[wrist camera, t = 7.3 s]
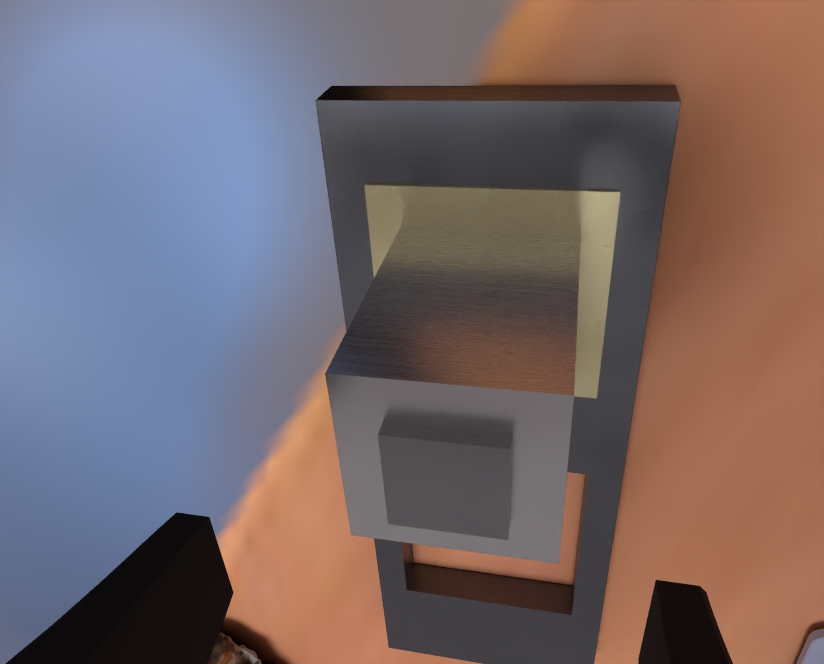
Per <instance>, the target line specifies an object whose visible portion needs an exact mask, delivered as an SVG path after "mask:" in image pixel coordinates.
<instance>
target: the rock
mask: <svg viewBox="0 0 824 664" xmlns="http://www.w3.org/2000/svg"><path fill="white" fill-rule="evenodd" d="M207 664H261V660H259V659H258V658H257V654H256V653H255V652H254V651H253V650H250V649H248V648H246V647H245V645H243V646H238V645H237V644H235V643H234V642H232V640H231V637H229V636H227V635H224V634H223V633H222V632H221V631H220V633H219V635H218V638H217V641H216V643H215V646H214V649H213V651H212V654H211V656H210V658H209V660H208V662H207Z"/></svg>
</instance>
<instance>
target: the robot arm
mask: <svg viewBox="0 0 824 664" xmlns="http://www.w3.org/2000/svg"><path fill="white" fill-rule="evenodd" d="M232 595H233V590H232V587H231V584H230V580H229V577H228V574H227V571H226V568H225V565H224V562H223V559H222V555H221V552H220V549H219V546H218V543H217V540H216V537H215V534H214V530H213V527H212V524H211V521H210V518H209V517H205V516H198V515H190V514H183V513H176V514H174V516H172V517H171V518H170V519H169V520H168V521H167V522H165V523H164V524H163V525H162V526H161V527H160V528H159V529H158V530H157V531H156V532H154V533H153V534H152V535H151V536H150V537H149V538H148V539H147V540H146V541H145V542H144V543H142V544H141V545H140V546H139V547H138V548H137V549H136V550H135V551H134V552H133V553H132V554H131V555H130V556H128V557H127V558H126V559H125V560H124V561H123V562H122V563H121V564H120V565H119V566H118V567H117V568H115V569H114V570H113V571H112V572H111V573H110V574H109V575H108V576H107V577H106V578H105V579H103V580H102V581H101V582H100V583H99V584H98V585H97V586H96V587H95V588H93V589H92V590H91V591H90V592H89V593H88V594H87V595H86V596H84V597H83V598H82V599H81V600H80V601H79V602H78V603H77V604H75V605H74V606H73V607H72V608H71V609H70V610H69V611H68V612H66V613H65V614H64V615H63V616H62V617H61V618H60V619H58V620H57V621H56V622H55V623H54V624H53V625H52V626H50V627H49V628H48V629H47V630H46V631H44V632H43V633H42V634H41V635H40V636H38V637H37V638H36V639H35V640H34V641H32V642H31V643H30V644H29V645H27V646H26V647H25V648H24V649H23V650H22V651H20V652H19V653H18V654H17V655H15V656H14V657H13V658H12V659H11V660H10V661H8V662H7V663H6V664H207V662H208V660H209V658H210V656H211V654H212V651H213V649H214V646H215V643H216V641H217V638H218V635H219V633H220V630H221V627H222V625H223V622H224V619H225V616H226V613H227V610H228V607H229V604H230V601H231V598H232ZM639 664H733V663H732V660H731V658H730V655H729V653H728V651H727V648H726V646H725V643H724V641H723V638H722V635H721V633H720V630H719V628H718V625H717V622H716V620H715V617H714V614H713V611H712V608H711V606H710V603H709V599H708V596H707V593H706V592H705V591H704V590H703V589H702V588H701V587H700V586H695V585H688V584H681V583H674V582H667V581H660V580H656V582H655V586H654V591H653V595H652V600H651V605H650V609H649V614H648V618H647V623H646V627H645V632H644V636H643V641H642V645H641V650H640V655H639ZM796 664H824V629H818V630H815V631H813V632H811V633H810V635H809V636H808V638H807V640H806V643H805V645H804V647H803V649H802V652H801V654H800V656H799V658H798V661H797V663H796Z"/></svg>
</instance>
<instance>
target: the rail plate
mask: <svg viewBox="0 0 824 664" xmlns="http://www.w3.org/2000/svg"><path fill="white" fill-rule="evenodd" d="M680 103H681V101H680V98H679V95H678V92H677V88H676V86H331V87H330V88H329V89H328V90H326V91H325V92H324V93H323V94H322V95H321V96H320V97H319V98H318V99H317V100H316V107H317V114H318V122H319V129H320V136H321V144H322V152H323V159H324V167H325V174H326V182H327V189H328V197H329V204H330V211H331V219H332V226H333V234H334V241H335V249H336V256H337V264H338V271H339V279H340V286H341V293H342V301H343V309H344V316H345V324H346V331H347V330H348V328H349V326H350V324H351V322H352V320H353V318H354V316H355V314H356V313H357V311H358V309H359V307H360V305H361V303H362V301H363V299H364V297H365V295H366V293H367V291H368V289H369V287H370V285H371V283H372V281H373V279H374V277H375V275H376V274H377V272H378V270H379V268H380V266H381V264H382V262H383V260H384V258H385V256H386V254H387V252H388V250H389V248H390V246H391V244H392V242H393V240H394V238H395V237H396V235H397V233H398V231H399V229H400V228H419V229H443V230H466V231H490V232H513V233H537V234H560V235H581V246H580V269H579V293H578V317H577V340H576V364H575V387H574V403H573V414H572V424H571V435H570V446H569V457H568V468H567V472H573V473H582V474H585V480H584V489H583V498H582V507H581V516H580V525H579V534H578V543H577V552H576V561H575V570H574V579H573V586H567V585H560V584H553V583H546V582H539V581H532V580H525V579H518V578H511V577H504V576H497V575H490V574H483V573H476V572H469V571H462V570H455V569H448V568H441V567H434V566H427V565H420V564H413V554H412V543H405V542H398V541H391V540H384V539H376V538H374V541H375V548H376V555H377V563H378V570H379V578H380V585H381V593H382V600H383V608H384V615H385V623H386V630H387V638H388V645H389V648H395V649H401V650H407V651H412V652H418V653H424V654H430V655H436V656H442V657H448V658H454V659H459V660H465V661H471V662H477V663H483V664H594V660H595V654H596V648H597V641H598V635H599V628H600V622H601V615H602V609H603V602H604V596H605V589H606V583H607V576H608V570H609V563H610V557H611V550H612V544H613V537H614V531H615V524H616V518H617V511H618V505H619V498H620V492H621V486H622V479H623V473H624V466H625V460H626V453H627V447H628V440H629V434H630V427H631V421H632V414H633V408H634V401H635V395H636V388H637V382H638V375H639V369H640V362H641V356H642V349H643V343H644V336H645V330H646V324H647V317H648V311H649V304H650V298H651V291H652V285H653V278H654V272H655V265H656V259H657V252H658V246H659V239H660V233H661V226H662V220H663V213H664V207H665V200H666V194H667V187H668V181H669V175H670V168H671V162H672V155H673V149H674V142H675V136H676V129H677V123H678V116H679V110H680Z"/></svg>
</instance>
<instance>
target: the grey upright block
mask: <svg viewBox="0 0 824 664" xmlns="http://www.w3.org/2000/svg"><path fill="white" fill-rule="evenodd" d="M580 246H581V235H560V234H537V233H513V232H490V231H466V230H443V229H419V228H400V229H399V231H398V233H397V235H396V237H395V238H394V240H393V242H392V244H391V246H390V248H389V250H388V252H387V254H386V256H385V258H384V260H383V262H382V264H381V266H380V268H379V270H378V272H377V274H376V275H375V277H374V279H373V281H372V283H371V285H370V287H369V289H368V291H367V293H366V295H365V297H364V299H363V301H362V303H361V305H360V307H359V309H358V311H357V313H356V314H355V316H354V318H353V320H352V322H351V324H350V326H349V328H348V330H347V332H346V334H345V336H344V338H343V340H342V342H341V344H340V346H339V348H338V350H337V351H336V353H335V355H334V357H333V359H332V361H331V363H330V365H329V367H328V369H327V371H326V373H325V375H326V381H327V387H328V394H329V400H330V406H331V412H332V419H333V425H334V431H335V437H336V444H337V450H338V456H339V462H340V469H341V475H342V481H343V487H344V493H345V500H346V506H347V512H348V518H349V525H350V531H351V535H355V536H362V537H369V538H376V539H384V540H391V541H398V542H405V543H413V544H420V545H427V546H434V547H442V548H449V549H456V550H463V551H471V552H478V553H485V554H492V555H500V556H507V557H514V558H521V559H529V560H536V561H543V562H550V563H558V564H559V555H560V544H561V533H562V522H563V511H564V501H565V490H566V479H567V468H568V457H569V446H570V435H571V424H572V414H573V403H574V387H575V364H576V340H577V317H578V293H579V269H580Z"/></svg>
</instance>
